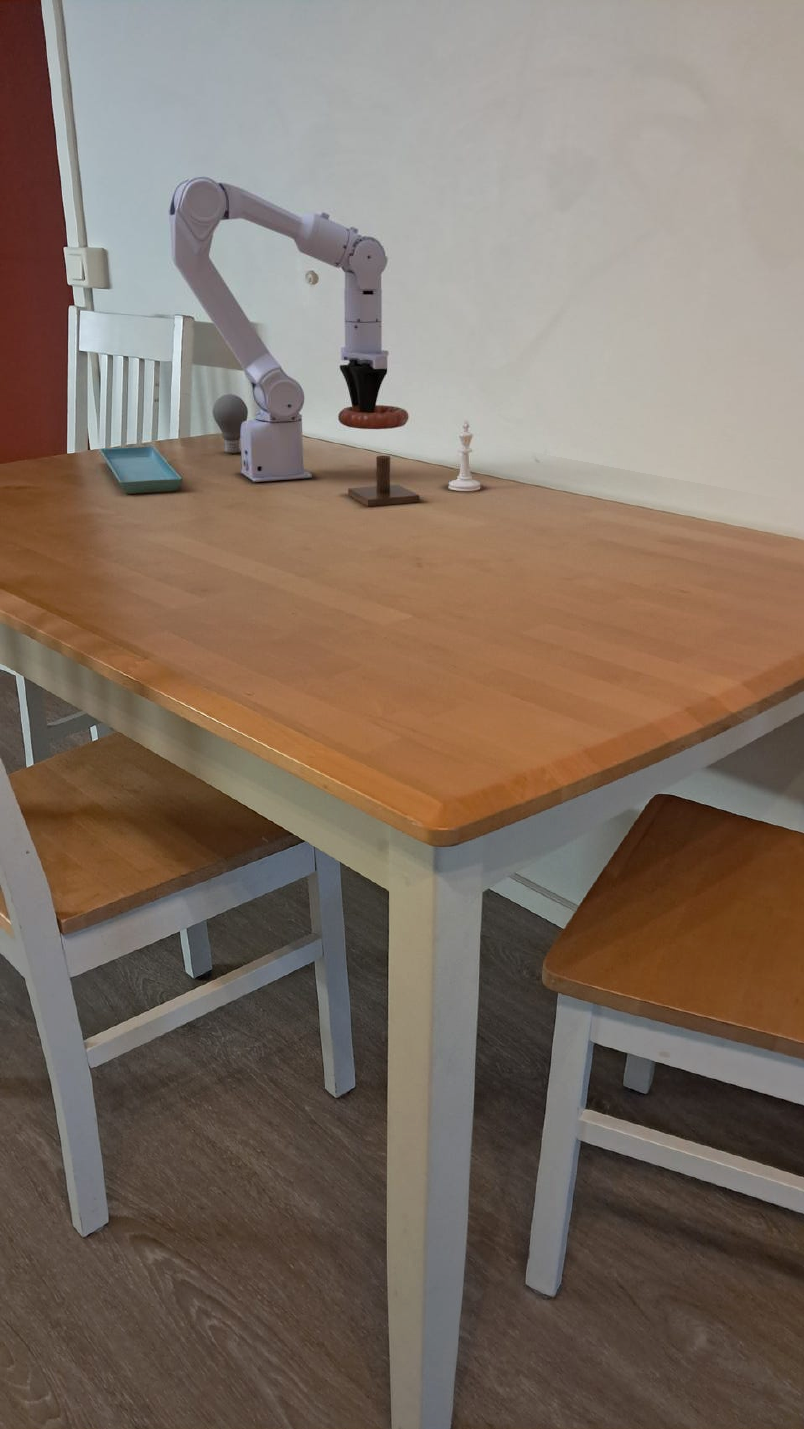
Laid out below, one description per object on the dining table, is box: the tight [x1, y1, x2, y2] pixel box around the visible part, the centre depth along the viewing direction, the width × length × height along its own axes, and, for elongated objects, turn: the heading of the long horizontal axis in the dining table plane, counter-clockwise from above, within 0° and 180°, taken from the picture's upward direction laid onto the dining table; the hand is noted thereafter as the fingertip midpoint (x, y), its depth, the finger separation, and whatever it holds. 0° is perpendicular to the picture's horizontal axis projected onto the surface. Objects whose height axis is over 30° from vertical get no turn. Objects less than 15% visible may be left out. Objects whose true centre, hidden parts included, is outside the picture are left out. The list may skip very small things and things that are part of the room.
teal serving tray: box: [99, 445, 183, 495], centre depth 167 cm, size 26×9×2 cm, turn 21°
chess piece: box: [447, 419, 482, 492], centre depth 160 cm, size 5×5×10 cm
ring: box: [337, 404, 410, 430], centre depth 166 cm, size 11×11×2 cm
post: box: [347, 455, 420, 507], centre depth 154 cm, size 8×8×6 cm
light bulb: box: [212, 393, 249, 455], centre depth 185 cm, size 6×6×10 cm
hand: (363, 411), depth 170 cm, fingers closed on ring, 2 cm apart
